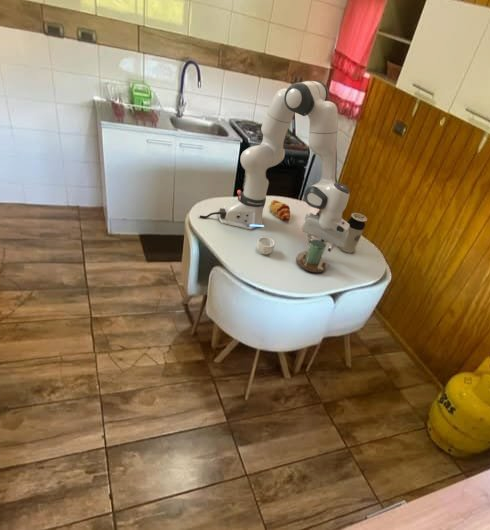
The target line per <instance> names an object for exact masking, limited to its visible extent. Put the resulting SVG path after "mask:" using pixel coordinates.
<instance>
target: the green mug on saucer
mask: <svg viewBox="0 0 490 530" xmlns="http://www.w3.org/2000/svg"><path fill="white" fill-rule="evenodd" d="M326 246H327V244H326V243H325V241H324V240H322V239H313V240H312V241H311V244H310V243H309V247H308V250H306V251H300V252H298V253H297V254H296V258H295V261H296V263H297V264H298V265H299V266H300V267H301V268H302V269H303V268H304V269H303V270H305V269H306V270H305V271H307V270H308V271H307V272H309V271H311V272H310V273H314V272H316V273H323V272H325V271H326V270H327V268H328V266H329V263H328V261H327V259H326V258H325V257H324V256H323V255H324V252H325V250H326Z"/></svg>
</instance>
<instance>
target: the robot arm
mask: <svg viewBox="0 0 490 530" xmlns="http://www.w3.org/2000/svg"><path fill="white" fill-rule="evenodd" d="M329 97H330V93H329V88H328V86H327V85H326V84H325V83H324V82H323V81H319V80H305V81H299V82H294V83H293V84H291V85H290V86H289V87H288V88H280V89H278V90H277V91H276V93H275V94H274V96H273V98H272V99H271V101H270V104H269V106H268V109H267V111H266V114H265V116H264V119H263V122H262V124H261V128H260V130H261V134H262V140H261V143H260V144H257V145H251V146H250V147H248V148H246V149H245V150H243V151H242V153H241V155H240V164H241V167H242V168H243V170H244V171H245V182H244V186H243V187H244V188H243V191H242V190H241V189H238V190H237V195H238V196H237V197H236V198H235V199H232V200H230V201H227V203H226V204H225V206H224V207H223V208H221V207H220V208H219V211H214V212H211V213H209V214H207V215H199V218H200V219H201V218H202V219H207V218H209V217H211V216H214V215H218V220H219V221H220V222H221V223H222V224H224V225H228V226H233V227H237V228H242V229H246V230H253V229H255V228H258V227H261V228H264V227H265V225H264V224H263V214H264V213H263V212H264V208H265V205H266V201H267V197H266V196H267V192H268V189H269V185H270V182H269V181H270V180H269V179H268V178H267V170H268V169H270V168H272V167H276V166H278V165H279V164H280V163H281V162H283V161H284V159H285V157H286V156H285V155H286V151H285V148H284V142H285V138H286V135H287V133H288V130H289V128H290V125H291V123H292V121H293V118H294V116H295V114H298V115H300V116H303V117H306V116H307V117H308V119H309V127H308V128H309V129H308V145H309V148H310V150H311V151H312V152H313V153H314V154H316V155H318V156H319V157H320V160H321V177H320V179H319V181H318V182H316V183H314V184H312V185H310V186H308V187H307V188H306V189H305V191H304V201H305V203H306V204H307V205H308V206H309V207H311V208H313V209H317V210H319V209H322V212H321V215H320V216H317V215H316V214H314V213H312V212H310V213H306V215H305V217H304V223H303V225H302V227H301V231H302V232H303V233H305V234H307V238H308V242H307V243H308V244H309V245H310V244H311V241H312V240H314V238H317V239H319V240H321V239H322V240H324V242H327V243H329V244H331V245H332V246H330V245H329V246H328V248H327V251H328V252H329V253H331V252H332V251H333V249H335V248H336V247H338V246H339V247H344V246H345V244H346V242H347V239H348V235H349V231H348V229H349V227H350V224H349V223H348V221H346V220H345V219H343V213H344V211H345V210H346V208H347V205H348V202H349V199H350V195H351V193H350V189H349V187H348V186H347V185H345V184H344V183H341V182H338V179H337V173H338V172H337V168H338V149H337V140H338V131H339V130H338V129H339V113H338V106H337V105H336V104H335V103H334V102H332V101H330V100H329ZM312 236H313V237H314V238H312ZM339 247H338V248H339Z"/></svg>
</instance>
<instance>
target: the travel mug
mask: <svg viewBox="0 0 490 530" xmlns="http://www.w3.org/2000/svg"><path fill="white" fill-rule="evenodd" d="M350 215H351V217H350V218H349V219H348V220H347V223H349V224H350V227H349V229H348V231H349V235H348V239H347V242H346V244H345V246H344V247H339V246H337V247H338V248H339V249H340V251H343V252H344V253H348V254H349V253H350V254H351V253H354V252H355V250H356V248H357V245H358V244H359V240H360V239H361V237H362V235H363V232H364V229H365V227H366V222H367V221H368V217H366V215H363V214H361V213H358V212H352V213H351V214H350Z"/></svg>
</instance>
